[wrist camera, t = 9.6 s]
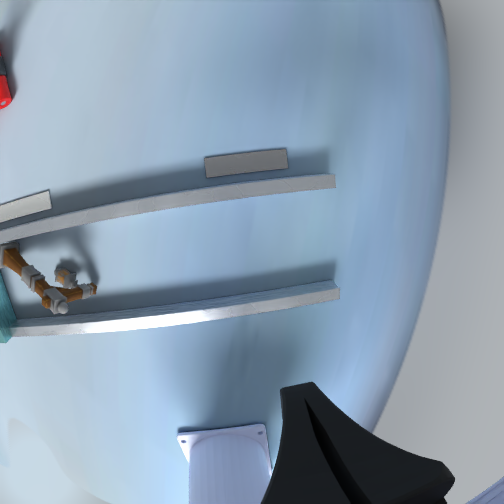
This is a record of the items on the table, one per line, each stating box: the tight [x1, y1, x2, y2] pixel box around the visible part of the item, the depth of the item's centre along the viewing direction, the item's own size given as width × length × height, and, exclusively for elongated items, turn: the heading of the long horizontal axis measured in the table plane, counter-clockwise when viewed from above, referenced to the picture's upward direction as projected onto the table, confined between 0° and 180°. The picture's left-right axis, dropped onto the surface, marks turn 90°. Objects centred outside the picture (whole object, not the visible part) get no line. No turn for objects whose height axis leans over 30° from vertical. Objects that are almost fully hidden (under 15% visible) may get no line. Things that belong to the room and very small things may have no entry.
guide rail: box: [0, 149, 340, 343], centre depth 18 cm, size 10×26×2 cm, turn 96°
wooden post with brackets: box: [0, 242, 97, 314], centre depth 17 cm, size 2×8×4 cm, turn 69°
